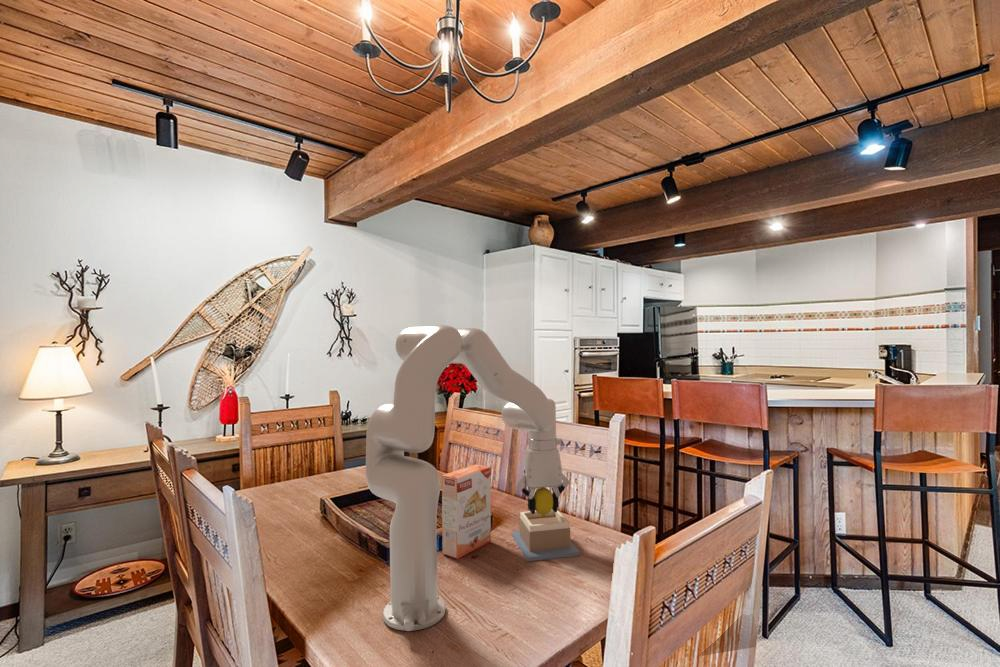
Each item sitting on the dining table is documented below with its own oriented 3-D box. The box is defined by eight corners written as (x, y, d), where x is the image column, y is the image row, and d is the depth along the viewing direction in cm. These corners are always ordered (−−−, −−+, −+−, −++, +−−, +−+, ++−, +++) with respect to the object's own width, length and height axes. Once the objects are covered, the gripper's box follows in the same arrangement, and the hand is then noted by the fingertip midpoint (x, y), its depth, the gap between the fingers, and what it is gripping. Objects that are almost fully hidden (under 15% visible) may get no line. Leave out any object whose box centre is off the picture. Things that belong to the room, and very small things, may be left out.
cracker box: (458, 560, 125) (457, 478, 126) (441, 554, 129) (440, 474, 129) (492, 541, 137) (491, 466, 137) (476, 536, 140) (474, 463, 140)
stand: (580, 555, 127) (579, 526, 127) (527, 561, 124) (526, 531, 124) (559, 530, 144) (558, 504, 144) (512, 535, 141) (511, 508, 141)
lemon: (552, 520, 131) (552, 490, 131) (531, 519, 132) (531, 489, 132) (554, 513, 136) (554, 484, 136) (534, 512, 137) (534, 483, 137)
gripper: (567, 440, 140) (568, 504, 139) (508, 443, 136) (509, 509, 136) (577, 445, 132) (578, 513, 132) (514, 449, 129) (515, 519, 129)
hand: (543, 510), depth 134 cm, fingers closed on lemon, 5 cm apart
